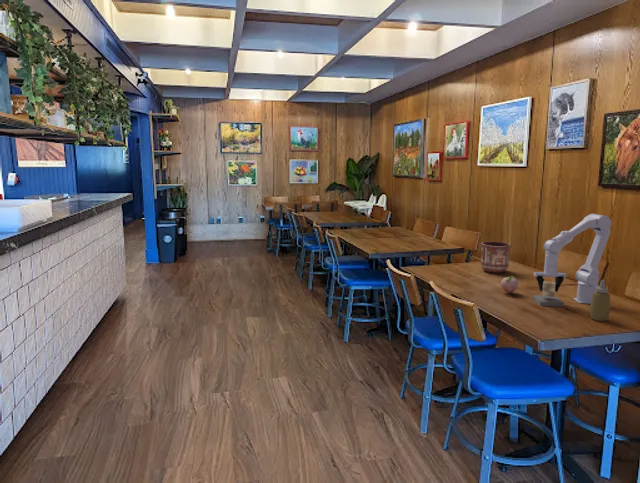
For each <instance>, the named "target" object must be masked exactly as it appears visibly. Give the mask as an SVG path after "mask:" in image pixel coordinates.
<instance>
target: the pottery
mask: <svg viewBox="0 0 640 483" xmlns="http://www.w3.org/2000/svg"><path fill="white" fill-rule="evenodd" d="M480 245H481V246H480V247H481V252H480V253H481V255H480V256H481V257H480V266H481V268H482V269H483V271H484V272H486V273H489V274H502V273H504V272H506V271H507V270H508V268H509V261H510V252H511V243H508V242H503V241H490V240H489V241H483V242H481V244H480Z"/></svg>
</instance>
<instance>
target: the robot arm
mask: <svg viewBox="0 0 640 483" xmlns="http://www.w3.org/2000/svg"><path fill="white" fill-rule="evenodd" d="M611 226H612V220H611V219H610V217H609V216H608V215H605V214H604V215H601V214H596V213H590V214H588V215H587V216H585V217H584V218H583V219H582V220H581V221H580V222H578V224H576V225H574V227H572V228H570V230H562V231H561V232H560V233H559V234H558V235H557V236H555V237H552V239H547V240H546V242H544V244H543V249H544V253H545V254H544V255H545V256H544V266H543V271H537V272H535V271H534V272H533V276H534V277H535V279H536V281H537V283H538V289H539V291H540V292H542V289H543V282H544V281H545V278H554V282H555V292H556V293H558V292H559V289H560V287H561V285H562V283H563V282H564V280H565V279H566V278H567V273H566V272H557V271H558V264H559V263H558V262H559V253H560V252H561V251H562V249H563V247H565V246H566V245H567V244H569V243H570V242H572V241H573V240H574V237H575V236H578V235H579V234H580V233H582V232H584V231H585V230H587V229H592V230H593V231H594V232H595V236H594V239H593V241H592V242H593V243H592V244H591V247H590V250H589V251H588V252H589V253H588V255H587V257H586V261H585V263H584V264H582V265H581V266H579V268H578V270H577V271H576V272H575V280H577V288H576V289H577V290H576V297H573V300H574V301H576V302H577V303H579V304H587V305H588V304H590V305H591V300H592V296H593V293H594V292H596V287H599V286H600V285H599V284H598V283H599V281H600V278H599V277H600V276H599V275H600V270H599V269H598V268H599V264H600V262H601V259H602V256H603V253H604V251H605V248H606V246H607V243H608V241H609V238H610V235H611Z"/></svg>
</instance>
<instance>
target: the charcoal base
mask: <svg viewBox="0 0 640 483" xmlns="http://www.w3.org/2000/svg"><path fill="white" fill-rule="evenodd" d="M532 300H533V301H534V302H535V303H536V304H538V305H539V306H543V307H564V306H565V304H564V303H565V302H564V301H562V299H560V298H559V297H557V296H556V295H554V297H550V296H542V294H532Z"/></svg>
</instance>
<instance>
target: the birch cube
mask: <svg viewBox="0 0 640 483" xmlns="http://www.w3.org/2000/svg"><path fill="white" fill-rule="evenodd" d="M555 292H556V291H555V281H554V282H553V281H545V280H544V282H543V289H542V291H541V295H542V296H550V297H554V296H556V295H555Z"/></svg>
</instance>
